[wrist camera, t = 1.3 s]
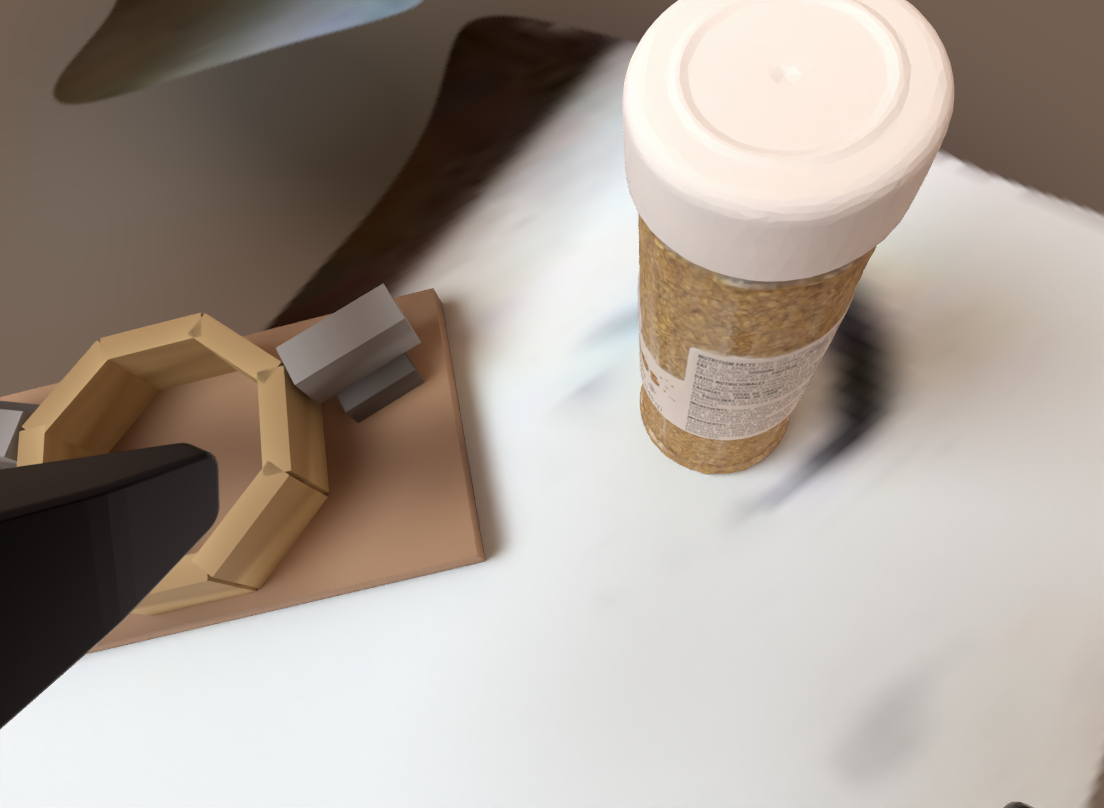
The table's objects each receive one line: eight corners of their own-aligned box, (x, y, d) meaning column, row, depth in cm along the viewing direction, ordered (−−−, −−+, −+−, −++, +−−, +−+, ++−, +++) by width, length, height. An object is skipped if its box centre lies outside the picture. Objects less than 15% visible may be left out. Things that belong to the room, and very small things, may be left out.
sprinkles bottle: (639, 342, 24) (621, -38, 11) (785, 339, 23) (940, -67, 10) (639, 480, 22) (617, 216, 10) (796, 481, 21) (993, 200, 9)
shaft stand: (485, 561, 22) (454, 539, 18) (-29, 680, 23) (-149, 680, 19) (441, 302, 25) (408, 244, 22) (-5, 414, 26) (-103, 375, 23)
